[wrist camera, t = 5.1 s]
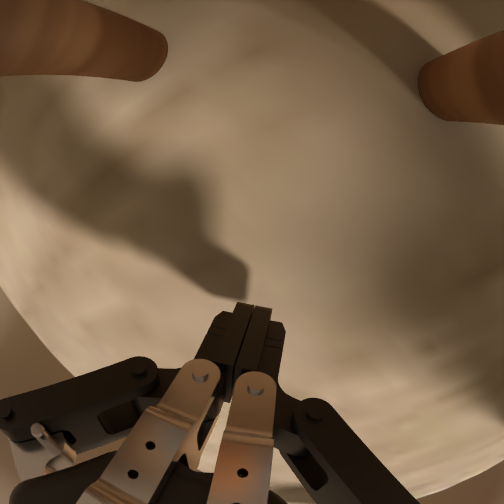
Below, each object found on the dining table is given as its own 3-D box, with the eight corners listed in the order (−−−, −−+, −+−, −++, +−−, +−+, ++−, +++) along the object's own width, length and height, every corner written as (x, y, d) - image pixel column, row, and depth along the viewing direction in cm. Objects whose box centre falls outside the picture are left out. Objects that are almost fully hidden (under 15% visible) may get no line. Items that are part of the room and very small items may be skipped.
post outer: (171, 25, 9) (-7, -38, 1) (164, 79, 10) (-41, 66, 2) (122, 34, 9) (-48, 9, 1) (116, 84, 10) (-67, 95, 2)
